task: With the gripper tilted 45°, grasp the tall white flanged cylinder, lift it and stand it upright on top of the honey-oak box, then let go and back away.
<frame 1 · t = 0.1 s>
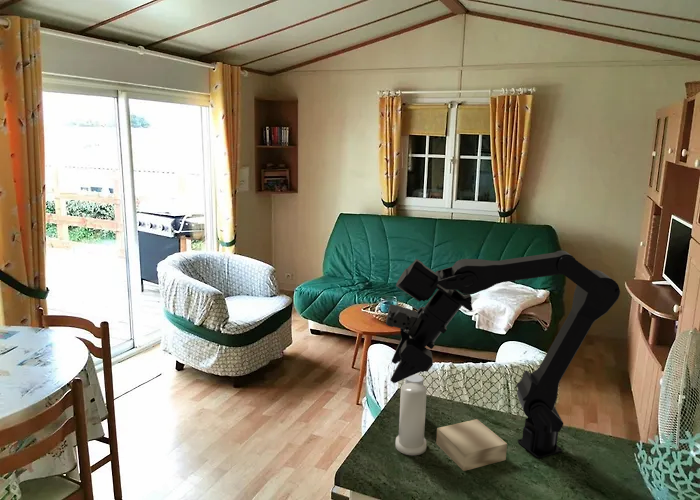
hand: (392, 371, 112), 15 cm above the table, tool tilted 35°, fingers open, 9 cm apart
pill bottle: (412, 418, 123), on the table
white flanged cylinder: (410, 446, 112), on the table
oak box: (470, 453, 111), on the table
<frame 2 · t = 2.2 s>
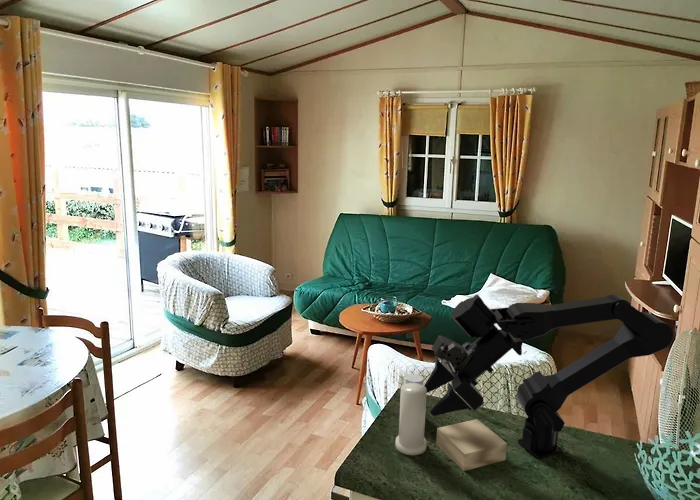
hand: (427, 402, 110), 10 cm above the table, tool tilted 45°, fingers open, 9 cm apart
nothing on the table moved.
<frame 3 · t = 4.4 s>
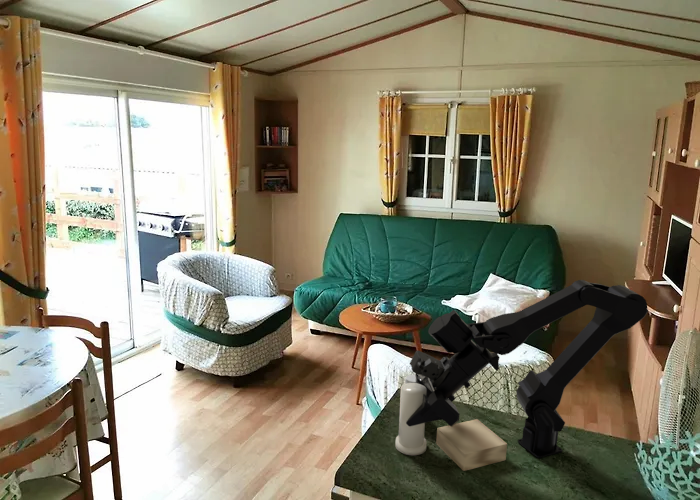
hand: (405, 417, 111), 7 cm above the table, tool tilted 45°, fingers closed on white flanged cylinder, 5 cm apart
white flanged cylinder: (410, 446, 112), on the table, touching gripper
everything else where it was.
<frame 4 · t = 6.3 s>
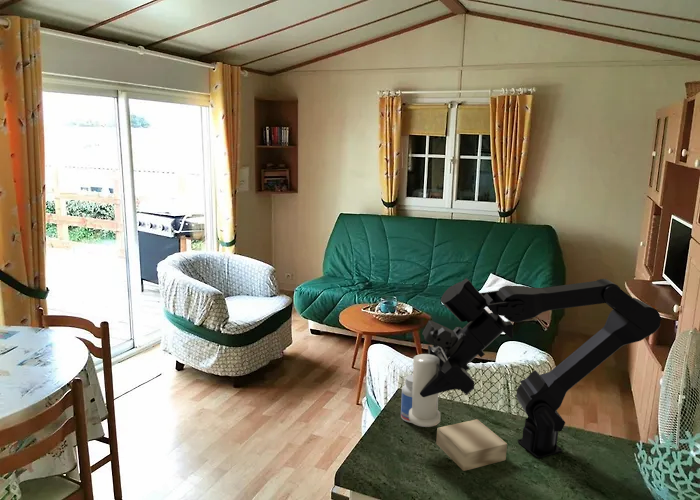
hand: (418, 388, 109), 13 cm above the table, tool tilted 45°, fingers closed on white flanged cylinder, 5 cm apart
white flanged cylinder: (424, 418, 110), point 7 cm above the table, touching gripper
everything else where it was.
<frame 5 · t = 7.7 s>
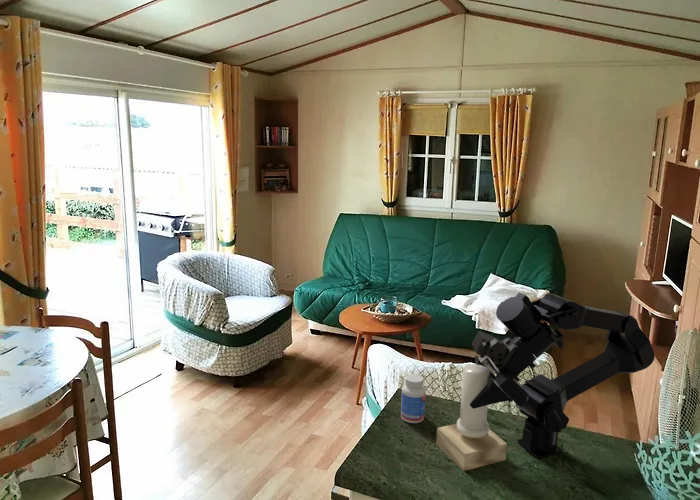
hand: (467, 399, 108), 12 cm above the table, tool tilted 45°, fingers closed on white flanged cylinder, 5 cm apart
white flanged cylinder: (472, 429, 110), point 5 cm above the table, touching gripper
everything else where it was.
when the fingers open (11 cm above the table, at t = 8.5 s): white flanged cylinder drops 1 cm, resting on oak box.
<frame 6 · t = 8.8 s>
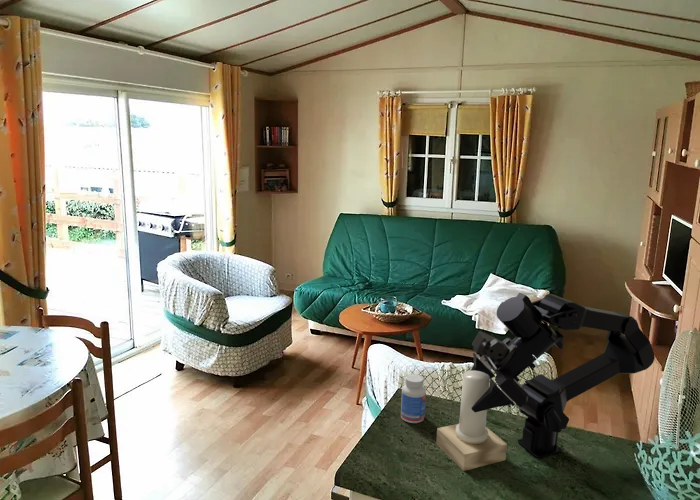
hand: (467, 399, 108), 12 cm above the table, tool tilted 45°, fingers open, 8 cm apart
white flanged cylinder: (471, 435, 110), point 4 cm above the table, touching oak box
oak box: (469, 453, 111), on the table, touching white flanged cylinder
everything else where it was.
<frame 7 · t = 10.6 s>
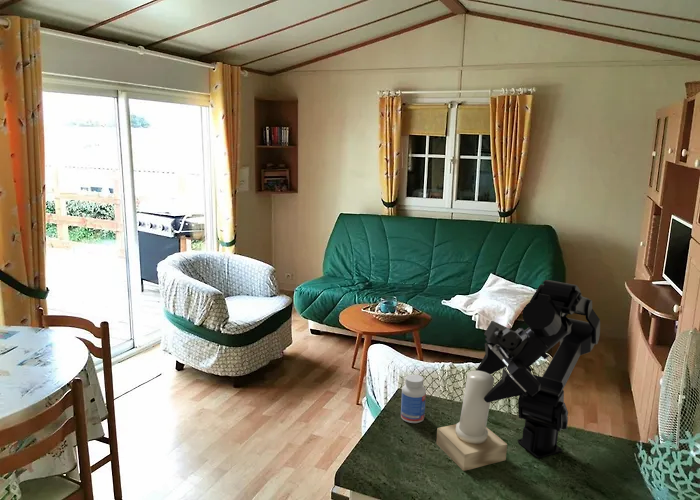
hand: (479, 389, 108), 14 cm above the table, tool tilted 45°, fingers open, 9 cm apart
white flanged cylinder: (471, 434, 110), point 4 cm above the table
oak box: (470, 453, 111), on the table
everything else where it was.
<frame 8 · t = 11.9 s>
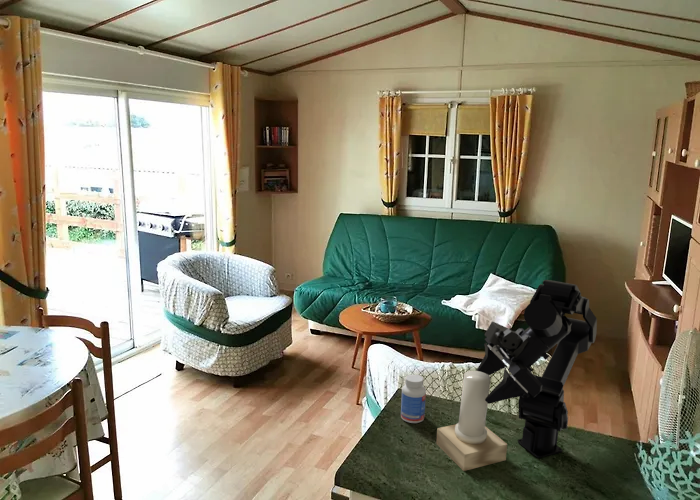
hand: (479, 390, 108), 14 cm above the table, tool tilted 45°, fingers open, 9 cm apart
nothing on the table moved.
at the end: white flanged cylinder 0.3 cm off-centre on the oak box, point 4.6 cm above the oak box's base; white flanged cylinder tilted 12°; the gripper is holding nothing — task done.
